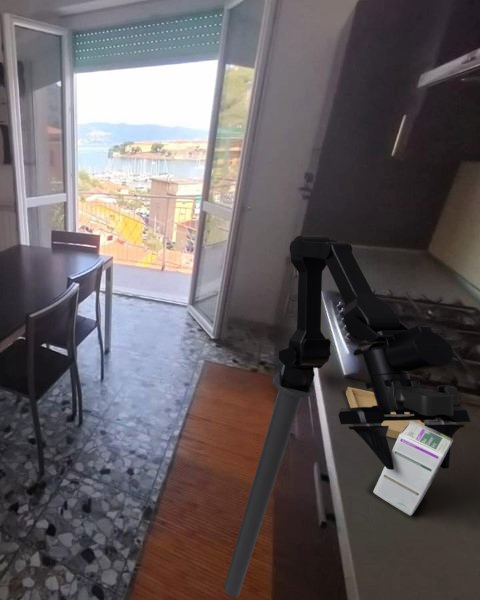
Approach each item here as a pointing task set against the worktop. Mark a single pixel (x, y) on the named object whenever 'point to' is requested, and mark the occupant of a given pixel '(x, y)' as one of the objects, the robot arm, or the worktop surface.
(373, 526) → the worktop surface
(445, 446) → the syrup box
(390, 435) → the tray
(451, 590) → the worktop surface
